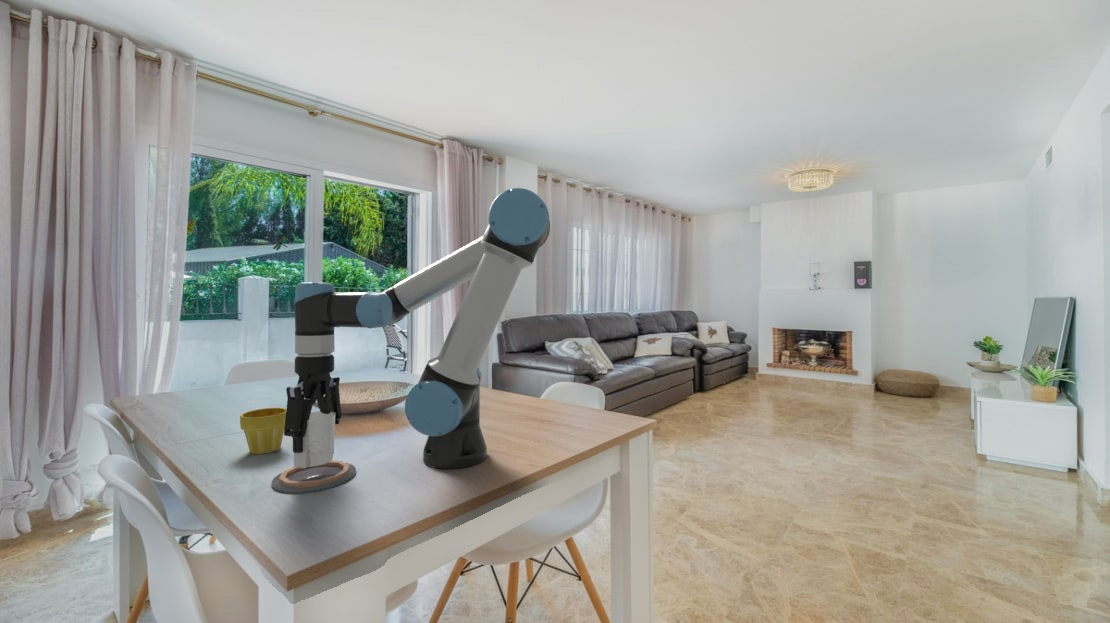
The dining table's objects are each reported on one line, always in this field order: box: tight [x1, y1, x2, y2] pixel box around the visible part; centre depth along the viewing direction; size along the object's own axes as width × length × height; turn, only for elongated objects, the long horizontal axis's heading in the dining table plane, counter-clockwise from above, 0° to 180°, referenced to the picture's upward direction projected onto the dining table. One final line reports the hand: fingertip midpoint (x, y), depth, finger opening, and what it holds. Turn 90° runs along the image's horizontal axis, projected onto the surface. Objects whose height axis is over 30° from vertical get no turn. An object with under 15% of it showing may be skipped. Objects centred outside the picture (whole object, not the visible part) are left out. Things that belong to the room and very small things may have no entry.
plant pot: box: [239, 407, 287, 455], centre depth 115 cm, size 10×10×10 cm
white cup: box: [299, 410, 336, 467], centre depth 97 cm, size 8×8×10 cm
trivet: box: [271, 460, 357, 494], centre depth 98 cm, size 16×16×1 cm
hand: (314, 460), depth 97 cm, fingers closed on white cup, 7 cm apart
